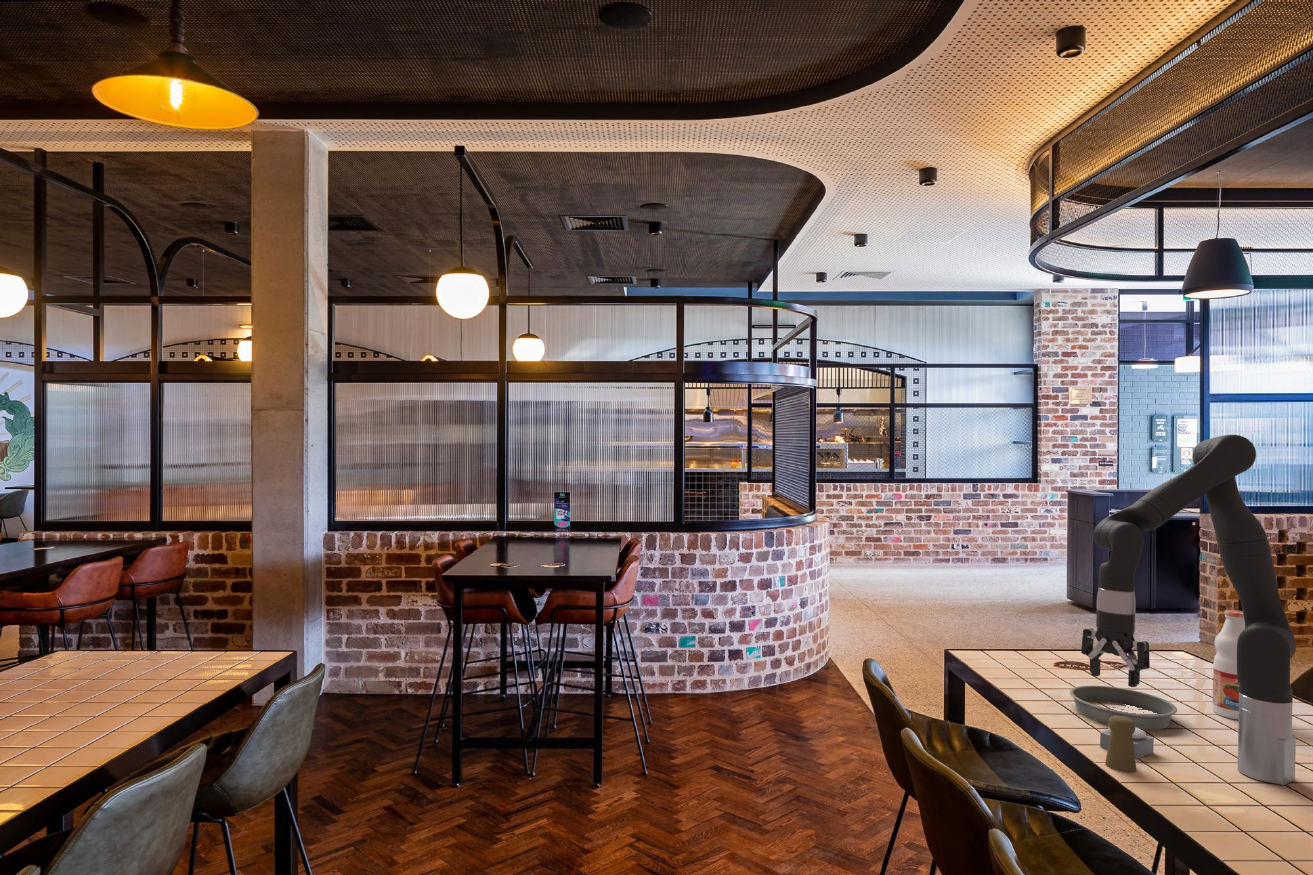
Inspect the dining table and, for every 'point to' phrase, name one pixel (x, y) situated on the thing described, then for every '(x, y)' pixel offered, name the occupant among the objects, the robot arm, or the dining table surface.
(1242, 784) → the dining table surface
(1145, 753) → the scale
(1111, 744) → the olive pepper mill
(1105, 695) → the cake pan
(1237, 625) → the fruit juice
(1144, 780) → the dining table surface
